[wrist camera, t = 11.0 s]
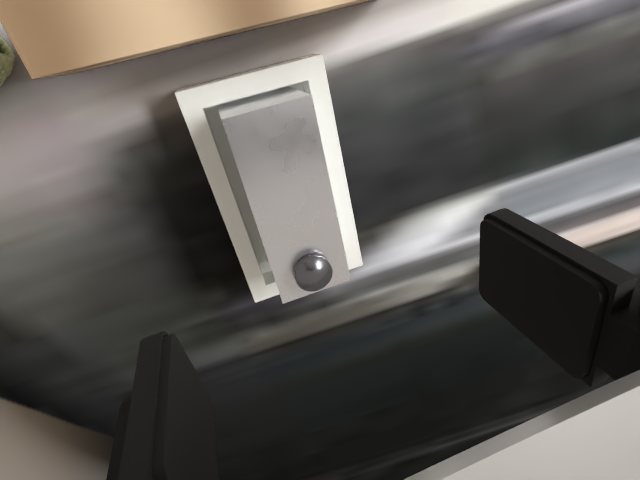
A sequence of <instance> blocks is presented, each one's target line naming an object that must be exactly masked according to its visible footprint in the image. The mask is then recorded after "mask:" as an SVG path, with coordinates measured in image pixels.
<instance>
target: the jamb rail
mask: <svg viewBox="0 0 640 480" xmlns="http://www.w3.org/2000/svg"><path fill="white" fill-rule="evenodd" d="M368 1H372V0H0V22H1V24H2V25H3V27H4V29H5V31H6V33H7V35H8V36H9V38H10V40H11V42H12V44H13V45H14V47H15V49H16V51H17V53H18V54H19V56H20V58H21V60H22V62H23V63H24V65H25V67H26V69H27V71H28V72H29V74H30V76H31V78H32V79H37V78H44V77H51V76H59V75H66V74H73V73H77V72H81V71H85V70H90V69H94V68H98V67H102V66H106V65H110V64H114V63H118V62H122V61H126V60H130V59H135V58H139V57H143V56H147V55H151V54H155V53H159V52H163V51H167V50H171V49H175V48H180V47H184V46H188V45H192V44H196V43H200V42H204V41H208V40H212V39H216V38H220V37H225V36H229V35H233V34H237V33H241V32H245V31H249V30H253V29H257V28H261V27H266V26H270V25H274V24H278V23H282V22H286V21H290V20H294V19H298V18H302V17H306V16H311V15H315V14H319V13H323V12H327V11H331V10H335V9H339V8H343V7H347V6H351V5H356V4H360V3H364V2H368Z"/></svg>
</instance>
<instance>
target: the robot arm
mask: <svg viewBox="0 0 640 480" xmlns="http://www.w3.org/2000/svg"><path fill="white" fill-rule="evenodd" d="M637 278H638V277H637V276H635V275H633V274H631V273H630V272H628V271H626V270H624V269H622V268H620V267H618V266H616V265H614V264H612V263H610V262H608V261H607V260H605V259H603V258H601V257H599V256H597V255H595V254H593V253H591V252H589V251H587V250H585V249H583V248H582V247H580V246H578V245H576V244H574V243H572V242H570V241H568V240H566V239H564V238H562V237H560V236H558V235H557V234H555V233H553V232H551V231H549V230H547V229H545V228H543V227H541V226H539V225H537V224H535V223H533V222H532V221H530V220H528V219H526V218H524V217H522V216H520V215H518V214H516V213H514V212H512V211H510V210H508V209H505V208H504V209H500V210H497V211H495V212H492V213H489V214H487V215H485V217H484V220H483V221H482V222H481V224H480V266H479V291H480V294H481V296H482V298H483V299H484V300H485V301H486V302H487V303H488V304H489V305H491V306H492V307H493V308H494V309H495V310H496V311H498V312H499V313H500V314H501V315H502V316H503V317H504V318H506V319H507V320H508V321H509V322H510V323H511V324H512V325H514V326H515V327H516V328H517V329H518V330H519V331H521V332H522V333H523V334H524V335H525V336H526V337H527V338H529V339H530V340H531V341H532V342H533V343H534V344H535V345H537V346H538V347H539V348H540V349H541V350H542V351H544V352H545V353H546V354H547V355H548V356H549V357H550V358H552V359H553V360H554V361H555V362H556V363H557V364H558V365H560V366H561V367H562V368H563V369H564V370H565V371H567V372H568V373H569V374H570V375H571V376H573V377H575V378H580V379H581V380H583V381H584V382H585V383H586V384H587V385H588V386H590V387H593V386H595V385H597V384H600V383H602V382H604V381H606V380H608V377H609V376H610V377H612V378H613V379H614V380H615V381H613V382H611V383H609V384H607V385H605V386H603V387H600V388H598V389H596V390H594V391H592V392H590V393H587V394H585V395H583V396H581V397H579V398H577V399H574V400H572V401H570V402H568V403H566V404H564V405H562V406H559V407H557V408H555V409H553V410H551V411H549V412H546V413H544V414H542V415H540V416H538V417H536V418H533V419H531V420H529V421H527V422H525V423H523V424H521V425H519V426H516V427H514V428H512V429H510V430H508V431H506V432H504V433H502V434H499V435H497V436H495V437H493V438H491V439H489V440H487V441H484V442H482V443H480V444H478V445H476V446H474V447H472V448H470V449H467V450H465V451H463V452H461V453H459V454H457V455H455V456H453V457H451V458H448V459H446V460H444V461H442V462H440V463H438V464H436V465H434V466H431V467H429V468H427V469H425V470H423V471H421V472H419V473H417V474H415V475H412V476H410V477H408V478H406V479H404V480H640V286H638V285H636V281H637ZM106 480H218V466H217V451H216V436H215V421H214V408H213V403H212V400H211V397H210V395H209V393H208V391H207V390H206V388H205V386H204V384H203V382H202V381H201V379H200V377H199V375H198V374H197V372H196V370H195V368H194V367H193V365H192V363H191V361H190V360H189V358H188V356H187V354H186V353H185V351H184V349H183V347H182V345H181V344H180V342H179V340H178V338H177V337H176V335H175V334H170V335H168V334H167V333H166V332H165V331H162V332H160V333H157V334H154V335H151V336H148V337H146V338H143V339H142V340H141V342H140V347H139V354H138V360H137V366H136V372H135V378H134V384H133V390H132V396H131V397H130V398H128V399H125V400H124V401H123V402H122V404H121V407H120V411H119V416H118V421H117V427H116V432H115V437H114V443H113V448H112V453H111V458H110V464H109V469H108V474H107V479H106Z"/></svg>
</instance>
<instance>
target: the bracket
mask: <svg viewBox="0 0 640 480" xmlns="http://www.w3.org/2000/svg"><path fill="white" fill-rule="evenodd" d="M285 87H291V88H294V89H297V90H300V91H302V92H305V93H308V94H311V95H312V98H313V103H314V108H315V112H316V117H317V122H318V127H319V131H320V136H321V141H322V145H323V150H324V155H325V160H326V164H327V169H328V174H329V179H330V183H331V188H332V193H333V198H334V202H335V207H336V212H337V216H338V221H339V226H340V231H341V235H342V240H343V245H344V250H345V254H346V259H347V264H348V268H349V270H350V269H353V268H355V267H358V266H361V265H363V263H362V258H361V253H360V248H359V243H358V237H357V232H356V227H355V222H354V216H353V211H352V206H351V201H350V196H349V190H348V185H347V180H346V175H345V169H344V164H343V159H342V154H341V149H340V143H339V138H338V133H337V128H336V122H335V117H334V112H333V107H332V102H331V96H330V91H329V86H328V81H327V75H326V70H325V65H324V60H323V55H322V54H312V55H309V56H305V57H301V58H297V59H293V60H289V61H286V62H282V63H278V64H274V65H270V66H266V67H262V68H259V69H255V70H251V71H247V72H243V73H239V74H236V75H232V76H228V77H224V78H220V79H216V80H212V81H209V82H205V83H201V84H197V85H193V86H189V87H186V88H182V89H178V90H176V91H175V96H176V98H177V101H178V103H179V106H180V109H181V111H182V114H183V116H184V119H185V122H186V124H187V127H188V129H189V132H190V135H191V137H192V140H193V142H194V145H195V148H196V150H197V153H198V155H199V158H200V160H201V163H202V166H203V168H204V171H205V173H206V176H207V179H208V181H209V184H210V186H211V189H212V192H213V194H214V197H215V199H216V202H217V205H218V207H219V210H220V212H221V215H222V218H223V220H224V223H225V225H226V228H227V231H228V233H229V236H230V238H231V241H232V244H233V246H234V249H235V251H236V254H237V257H238V259H239V262H240V264H241V267H242V269H243V272H244V275H245V277H246V280H247V282H248V285H249V288H250V290H251V293H252V295H253V298H254V301H255V303H256V302H259V301H262V300H264V299H267V298H270V297H273V296H276V295H279V294H280V293H279V290H278V287H277V284H276V282H275V279H274V276H273V273H272V270H271V267H270V264H269V261H268V258H267V255H266V252H265V249H264V246H263V243H262V240H261V237H260V234H259V231H258V228H257V225H256V222H255V219H254V216H253V213H252V210H251V207H250V204H249V201H248V198H247V195H246V192H245V189H244V186H243V183H242V180H241V177H240V174H239V171H238V168H237V165H236V162H235V159H234V156H233V153H232V150H231V147H230V144H229V141H228V138H227V135H226V132H225V129H224V126H223V123H222V120H221V117H220V114H219V110H218V107H217V106H218V105H221V104H225V103H229V102H233V101H236V100H240V99H244V98H248V97H251V96H255V95H259V94H263V93H266V92H270V91H274V90H278V89H281V88H285Z"/></svg>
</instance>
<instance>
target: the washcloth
mask: <svg viewBox="0 0 640 480" xmlns="http://www.w3.org/2000/svg"><path fill="white" fill-rule="evenodd" d="M14 60H15V53H14V52H13V50H12V49H11V47H10V46H9V45H8V44H7V43H6V42H5V41H4V40H3V39H2V38H1V37H0V85H2V84H3V82H4V80H5V78H6V77H7V76H9V75H10V74H11V72H12V68H13V67H14V64H13V62H14Z"/></svg>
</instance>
